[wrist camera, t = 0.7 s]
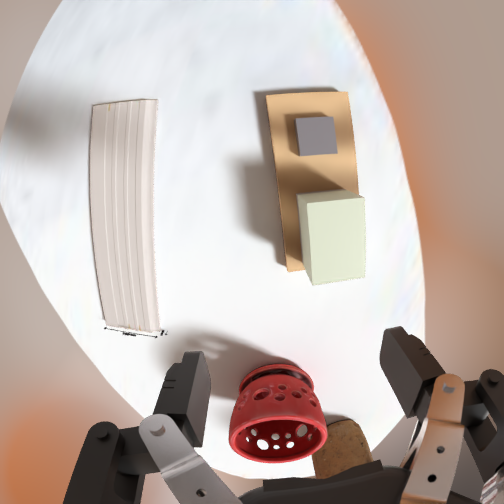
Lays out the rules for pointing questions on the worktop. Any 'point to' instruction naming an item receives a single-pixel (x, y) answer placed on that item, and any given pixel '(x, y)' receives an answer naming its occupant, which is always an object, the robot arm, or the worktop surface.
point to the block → (341, 450)
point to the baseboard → (125, 212)
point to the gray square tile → (315, 136)
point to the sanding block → (332, 235)
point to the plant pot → (277, 415)
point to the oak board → (308, 158)
